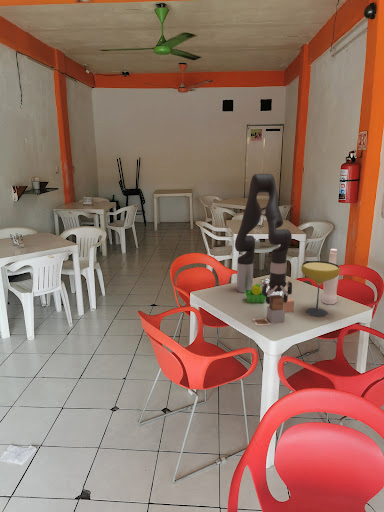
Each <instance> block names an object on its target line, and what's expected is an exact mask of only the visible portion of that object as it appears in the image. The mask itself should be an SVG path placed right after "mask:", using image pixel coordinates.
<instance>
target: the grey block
mask: <svg viewBox="0 0 384 512" xmlns="http://www.w3.org/2000/svg"><path fill="white" fill-rule="evenodd" d="M285 315H286V313H285V310H284V309H283V310H277V311H273V310H272V309H271V308H270V307H269V306H267V309H266V319H267V320H268V322H269V323H270V324H275V323H285Z"/></svg>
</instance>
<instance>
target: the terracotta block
mask: <svg viewBox="0 0 384 512" xmlns="http://www.w3.org/2000/svg"><path fill="white" fill-rule="evenodd" d="M294 308H295V301H294V300H293V299H292V298H291V297H288V301H287V302H286V303H284V302H283V309H284V310H285V314H287V313H294V310H295V309H294Z"/></svg>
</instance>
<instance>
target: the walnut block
mask: <svg viewBox="0 0 384 512" xmlns="http://www.w3.org/2000/svg"><path fill="white" fill-rule="evenodd" d="M269 297H270V303H269V304H268V305H269V307H270V308H271V309H272V310H273V311H277V310H283V299H284V298H283V297H284V296H281V294H271V295H270V296H269Z"/></svg>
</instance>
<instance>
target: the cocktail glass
mask: <svg viewBox="0 0 384 512" xmlns="http://www.w3.org/2000/svg"><path fill="white" fill-rule="evenodd" d="M300 268H301V272H302V274H303V275H304V276H305V277H307V278H308V279H310V280H312V281H313V282H314V283H315V284H316V285H317V294H316V295H317V297H316V305H315V307H310V308H309V307H308V308H307V309H305V313H306V314H307V315H310V316H313V317H317V318H321V317H326V316H328V315H329V312H328V310H325V309H323V308H319V296H320V286H321V285H322V284H323V282H325V281H328V280H331V279H334V278H336V277H337V276H338V275H339V276H340V270H341V269H340V266H339V265H338V264H337V263H336V264H334V263H330V262H329V261H325V260H310V261H309V260H308V261H305V262H303V263H302V264H301V267H300Z"/></svg>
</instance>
